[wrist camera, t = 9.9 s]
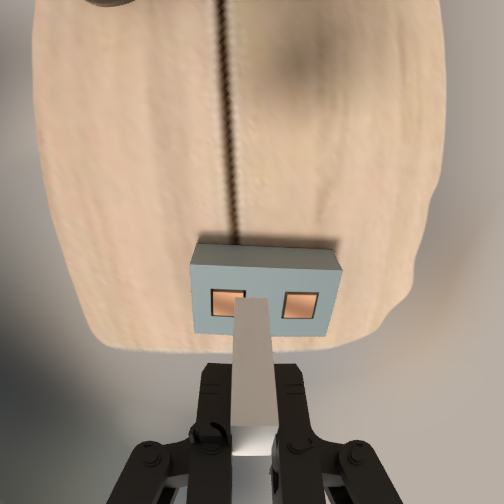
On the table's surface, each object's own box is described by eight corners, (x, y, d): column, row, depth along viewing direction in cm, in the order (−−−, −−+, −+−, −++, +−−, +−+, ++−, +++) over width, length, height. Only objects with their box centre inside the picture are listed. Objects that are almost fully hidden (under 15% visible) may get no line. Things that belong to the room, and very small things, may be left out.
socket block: (196, 243, 44) (189, 264, 38) (331, 249, 44) (342, 270, 39) (199, 308, 49) (194, 333, 44) (318, 312, 50) (325, 336, 45)
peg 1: (216, 268, 45) (213, 291, 40) (243, 269, 46) (243, 293, 40) (216, 290, 47) (213, 315, 42) (242, 291, 48) (242, 316, 42)
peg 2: (283, 271, 46) (287, 294, 41) (309, 272, 46) (316, 295, 41) (280, 293, 48) (284, 317, 42) (305, 293, 48) (311, 317, 43)
